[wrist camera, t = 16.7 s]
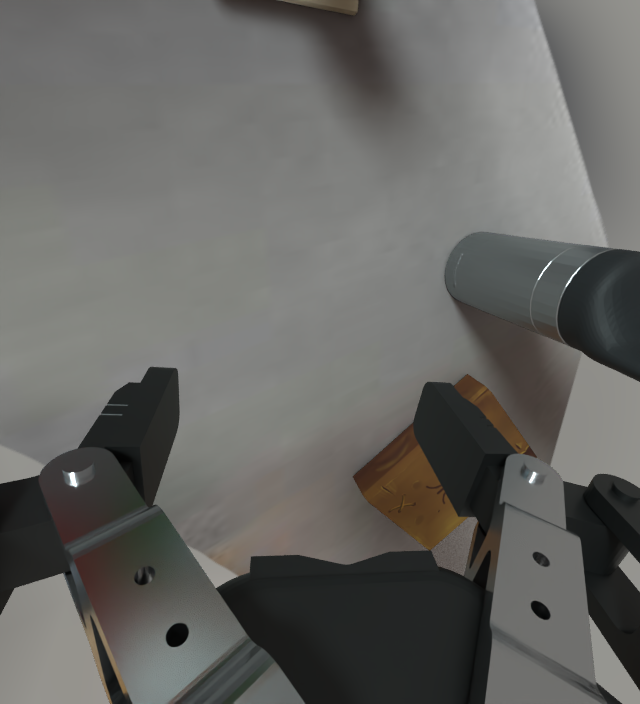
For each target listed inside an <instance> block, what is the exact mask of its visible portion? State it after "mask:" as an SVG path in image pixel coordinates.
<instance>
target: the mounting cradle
mask: <svg viewBox="0 0 640 704" xmlns="http://www.w3.org/2000/svg"><path fill="white" fill-rule="evenodd" d="M278 1H283V2H288V3H293V4H298V5H304V6H309V7H314V8H319V9H324V10H329V11H334V12H339V13H344V14H349V15H354V16H355V14H356V13H357V12H358V0H278Z"/></svg>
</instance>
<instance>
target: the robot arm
mask: <svg viewBox="0 0 640 704" xmlns="http://www.w3.org/2000/svg"><path fill="white" fill-rule="evenodd" d="M445 281H446V285H447V288H448V291H449V292H450V294H451V295H452V296H453V297H454V298H455V299H457V300H458V301H460V302H463V303H465V304H468V305H470V306H473V307H475V308H477V309H479V310H482V311H484V312H487V313H489V314H492V315H494V316H497V317H499V318H501V319H504V320H506V321H509V322H511V323H514V324H516V325H519V326H521V327H523V328H526V329H528V330H531V331H533V332H536V333H538V334H541V335H543V336H546V337H548V338H551V339H553V340H556V341H558V342H561V343H563V344H565V345H568V346H570V347H573V348H575V349H577V350H580V351H582V352H583V353H584V354H585V355H587V356H588V357H589V358H591V359H593V360H594V361H596V362H598V363H600V364H603V365H605V366H607V367H609V368H612V369H614V370H616V371H618V372H620V373H622V374H625V375H627V376H629V377H631V378H633V379H635V380H637V381H639V382H640V252H637V251H630V250H622V249H613V248H605V247H597V246H590V245H580V244H573V243H565V242H557V241H550V240H542V239H534V238H526V237H519V236H511V235H504V234H496V233H489V232H478V233H474V234H471V235H469V236H467V237H466V238H464V239H463V240H462V241H461V242H460V243H459V244H458V245H457V246H456V247H455V248H454V250H453V251H452V253H451V255H450V257H449V259H448V262H447V265H446V270H445ZM178 424H179V384H178V371H177V369H176V368H162V367H150V368H149V369H148V371H147V372H146V374H145V376H144V378H143V379H142V381H141V383H130V382H129V383H128V384H126V385H125V386H123V387H122V388H120V389H119V390H117V391H116V392H115V393H114V394H113V396H112V397H111V399H110V400H109V402H108V403H107V406H105V408H104V409H103V411H102V412H101V415H99V417H98V418H97V420H96V421H95V423H94V424H93V426H92V427H91V429H90V430H89V432H88V433H87V435H86V436H85V438H84V440H83V441H82V443H81V444H80V446H79V447H78V449H74V450H71V451H68V452H66V453H63V454H61V455H59V456H57V457H56V458H54V459H53V460H51V461H50V462H49V463H48V464H47V465H46V466H45V467H44V468H43V469H42V471H41V473H40V475H38V476H35V477H31V478H27V479H22V480H17V481H12V482H7V483H2V484H0V615H1V613H2V611H3V609H4V607H5V605H6V603H7V601H8V599H9V597H10V595H11V594H12V592H13V590H14V588H16V587H19V586H22V585H26V584H29V583H32V582H35V581H38V580H42V579H45V578H48V577H51V576H55V575H58V574H61V573H63V574H64V577H65V580H66V582H67V585H68V588H69V590H70V593H71V596H72V598H73V601H74V604H75V606H76V609H77V612H78V614H79V617H80V620H81V622H82V625H83V628H84V630H85V633H86V636H87V638H88V641H89V644H90V647H91V650H92V653H93V657H94V659H95V663H96V666H97V669H98V672H99V675H100V678H101V681H102V684H103V686H104V689H105V692H106V694H107V697H108V700H109V703H110V704H622V703H620V702H619V701H618V700H617V699H616V698H614V697H613V696H612V695H611V694H610V693H609V692H607V691H606V690H605V689H604V688H602V687H601V686H600V685H599V684H598V683H596V680H595V673H594V664H593V663H594V662H593V653H592V643H591V634H590V624H589V615H590V617H591V618H592V620H593V621H594V623H595V624H596V625H597V627H598V628H599V630H600V631H601V633H602V635H603V636H604V637H605V639H606V641H607V642H608V644H609V645H610V646H611V648H612V650H613V651H614V653H615V654H616V656H617V657H618V658H619V660H620V662H621V663H622V664H623V666H624V668H625V669H626V670H627V672H628V674H629V675H630V677H631V678H632V680H633V681H634V683H635V684H636V685H637V687H638V689H639V690H640V592H639V591H638V590H637V588H636V587H635V586H634V585H633V583H632V582H631V581H630V580H629V579H628V577H627V576H626V575H625V574H624V572H623V571H622V570H621V569H620V568H619V566H618V565H619V564H620V563H621V561H622V560H623V559H624V557H625V556H626V555H627V553H628V552H629V551H630V553H631V554H632V555H633V556H634V557H635V558H636V560H637V561H638V562H639V563H640V488H638V487H637V486H635V485H634V484H632V483H630V482H628V481H626V480H624V479H621V478H619V477H616V476H613V475H608V474H598V475H595V477H594V478H593V479H592V481H591V482H590V484H589V486H588V487H585V486H581V485H576V484H573V483H569V482H564V481H563V480H562V478H561V477H560V475H559V474H558V473H557V472H556V471H555V470H554V469H553V468H552V467H551V466H549V465H548V464H546V463H545V462H543V461H541V460H539V459H537V458H535V457H532V456H529V455H525V454H518V453H517V451H516V450H515V449H514V448H513V447H512V446H511V445H510V443H509V442H508V441H507V440H506V439H505V438H504V437H503V435H502V434H501V433H500V432H499V431H498V430H497V428H494V425H493V424H492V423H491V422H490V420H489V419H487V417H486V416H485V415H484V414H483V412H482V411H481V410H480V409H479V408H478V407H477V406H476V405H474V404H473V403H471V402H470V401H468V400H467V399H465V398H463V397H462V396H461V395H460V393H459V392H458V391H457V390H456V389H455V387H454V386H453V385H452V384H451V383H443V382H427V383H426V384H425V385H424V388H423V391H422V394H421V397H420V401H419V404H418V407H417V411H416V414H415V418H414V422H413V430H414V435H415V438H416V440H417V442H418V443H419V445H420V447H421V449H422V451H423V453H424V454H425V456H426V458H427V460H428V462H429V464H430V465H431V467H432V469H433V471H434V473H435V475H436V476H437V478H438V480H439V482H440V484H441V486H442V487H443V489H444V491H445V493H446V495H447V497H448V498H449V500H450V502H451V504H452V506H453V508H454V509H455V511H456V513H457V515H458V517H476V518H477V520H478V522H477V524H476V527H475V529H474V533H473V537H472V542H471V546H470V551H469V555H468V560H467V564H466V569H465V573H464V576H462V575H460V574H458V573H455V572H453V571H451V570H448V569H445V568H442V567H438V566H437V564H436V561H435V559H434V557H433V554H432V552H431V551H402V552H388V553H385V554H382V555H378V556H375V557H372V558H369V559H366V560H363V561H360V562H357V563H354V564H350V565H343V564H338V563H333V562H329V561H324V560H319V559H315V558H310V557H305V556H300V555H284V556H254V557H251V563H250V573H247V574H244V575H241V576H239V577H236V578H234V579H232V580H230V581H228V582H226V583H224V584H222V585H221V586H219V587H217V588H215V587H214V585H213V584H212V582H211V581H210V579H209V578H208V576H207V575H206V573H205V572H204V570H203V569H202V567H201V566H200V565H199V563H198V562H197V560H196V559H195V557H194V556H193V554H192V553H191V551H190V550H189V548H188V547H187V545H186V544H185V542H184V541H183V539H182V538H181V537H180V535H179V534H178V532H177V531H176V529H175V528H174V526H173V525H172V523H171V522H170V520H169V519H168V517H167V516H166V515H165V513H164V512H163V510H162V509H161V508H160V507H159V506H158V505H153V502H154V499H155V496H156V493H157V490H158V487H159V484H160V481H161V478H162V475H163V472H164V469H165V466H166V463H167V460H168V457H169V454H170V451H171V448H172V445H173V442H174V439H175V436H176V433H177V429H178ZM152 505H153V506H152Z"/></svg>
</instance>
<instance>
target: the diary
mask: <svg viewBox="0 0 640 704" xmlns="http://www.w3.org/2000/svg"><path fill="white" fill-rule="evenodd" d="M454 387H455V389H456V390H457V391H458V392H459V393H460V395H461V396H462V397H463V398H465V399H467V400H468V401H470V402H471V403H473V404H474V405H476V406H477V407H478V408H479V409H480V410H481V411H482V412H483V414H484V415H485V416H486V417H487V419H489V420H490V422H491V423H492V424H493V425H494V428H497V430H498V431H499V432H500V433H501V434H502V435H503V437H504V438H505V439H506V440H507V441H508V442H509V443H510V445H511V446H512V447H513V448H514V449H515V450H516V451H517V453H518V454H525V455H529V456H532V457H535V458H537V457H536V455H535V454H534V452H533V451H532V449H531V448H530V447H529V445H528V444H527V442H526V441H525V439H524V438H523V437H522V435H521V434H520V432H519V431H518V429H517V428H516V427H515V425H514V424H513V422H512V421H511V419H510V418H509V417H508V415H507V414H506V412H505V411H504V409H503V408H502V407H501V405H500V404H499V402H498V401H497V399H496V398H495V397H494V395H493V394H492V392H491V391H490V390H489V389H488V388H487V387H485V386H484V385H483V384H481V383H480V382H478V381H477V380H475V379H474V378H472V377H471V376H469V375H468V374H467V375H466V376H465V377H463V378H462V379H461V380H460V381H459V382H458V383H457V384H456V385H455V386H454ZM353 478H354V480H355V482H356V483H357V485H358V487H359V489H360V491H361V493H362V495H363V496H364V497H365V498H366V500H367V501H368V502H369V503H370V504H372V505H373V506H374V507H375V508H377V509H378V510H379V511H380V512H382V513H383V514H384V515H385V516H387V517H388V518H389V519H390V520H392V521H393V522H394V523H395V524H397V525H398V526H399V527H400V528H402V529H403V530H404V531H406V532H407V533H408V534H409V535H411V536H412V537H413V538H414V539H416V540H417V541H418V542H419V543H421V544H422V545H423V546H424V547H426V548H427V549H428V550H429V551H430V550H431V549H432V548H433V547H434V546H436V545H437V544H438V543H439V542H440V541H441V540H442V539H444V538H445V537H446V536H447V535H448V534H449V533H450V532H452V531H453V530H454V529H455V528H456V527H457V526H459V525H460V524H461V523H462V522H463V521H464V520H465V519H467V518H468V517H458V515H457V513H456V511H455V509H454V508H453V506H452V504H451V502H450V500H449V498H448V497H447V495H446V493H445V491H444V489H443V487H442V486H441V484H440V482H439V480H438V478H437V476H436V475H435V473H434V471H433V469H432V467H431V465H430V464H429V462H428V460H427V458H426V456H425V454H424V453H423V451H422V449H421V447H420V445H419V443H418V442H417V440H416V438H415V435H414V430H413V423H412V424H411V425H410V426H409V427H408V428H407V429H405V430H404V431H403V432H402V433H401V434H400V435H399V436H398V437H397V438H395V439H394V440H393V441H392V442H391V443H390V444H389V445H388V446H386V447H385V448H384V449H383V450H382V451H381V452H380V453H379V454H378V455H376V456H375V457H374V458H373V459H372V460H371V461H370V462H369V463H367V464H366V465H365V466H364V467H363V468H362V469H361V470H360V471H359V472H357V473H356V474H355V475H354V476H353Z"/></svg>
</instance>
